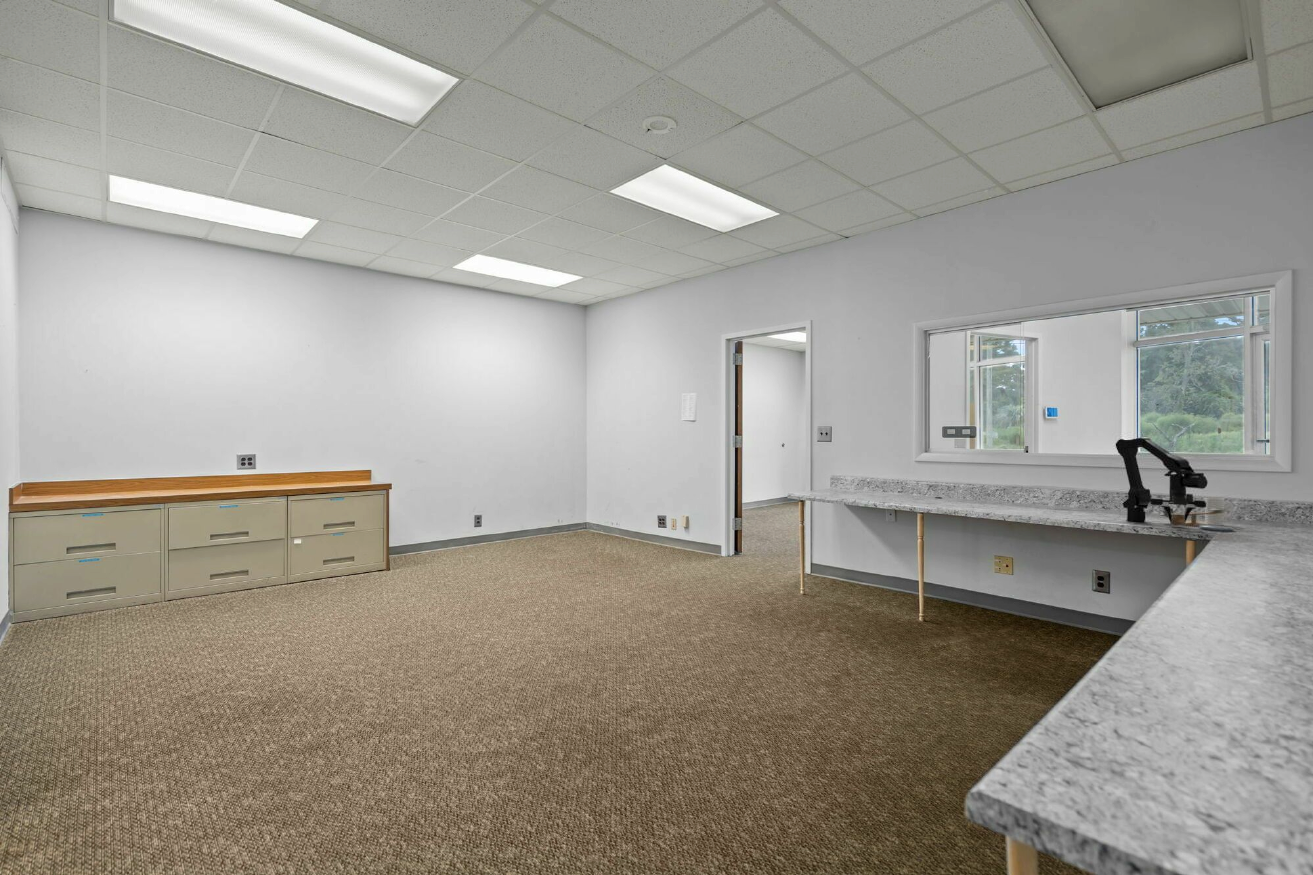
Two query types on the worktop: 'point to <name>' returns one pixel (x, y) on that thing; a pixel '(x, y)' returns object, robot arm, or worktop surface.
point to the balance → (1193, 516)
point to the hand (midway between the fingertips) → (1177, 521)
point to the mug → (1219, 517)
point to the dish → (1216, 528)
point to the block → (1177, 519)
